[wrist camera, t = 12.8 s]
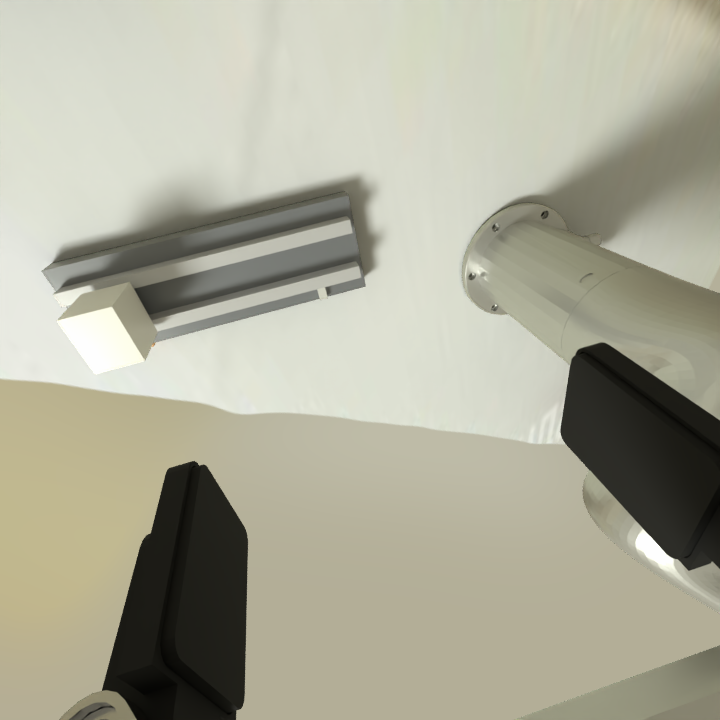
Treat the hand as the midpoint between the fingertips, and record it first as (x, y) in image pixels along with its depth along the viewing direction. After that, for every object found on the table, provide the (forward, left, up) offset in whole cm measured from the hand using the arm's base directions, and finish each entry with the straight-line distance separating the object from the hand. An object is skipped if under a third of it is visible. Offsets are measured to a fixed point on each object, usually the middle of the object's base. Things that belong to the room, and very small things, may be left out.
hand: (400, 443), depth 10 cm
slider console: (+9, +5, -32) cm, 34 cm away
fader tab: (+17, +5, -30) cm, 35 cm away
